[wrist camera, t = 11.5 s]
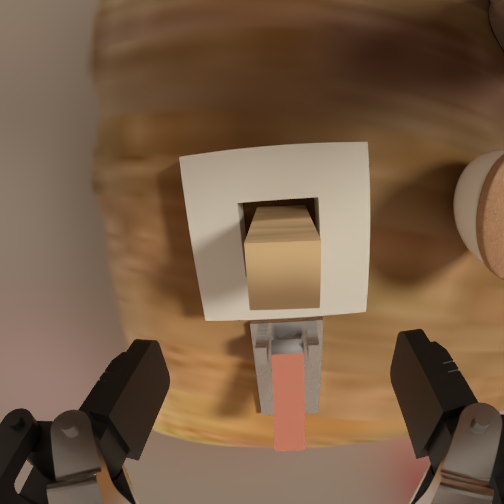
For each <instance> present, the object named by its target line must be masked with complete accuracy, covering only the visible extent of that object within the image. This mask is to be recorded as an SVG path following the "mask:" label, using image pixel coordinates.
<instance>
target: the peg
mask: <svg viewBox="0 0 504 504" xmlns="http://www.w3.org/2000/svg"><path fill="white" fill-rule="evenodd" d="M244 249H245V261H246V273H247V284H248V296H249V308H250V310H282V309H308V308H320V287H321V239H320V237H319V235H318V232H317V230H316V228H315V226H314V224H313V221H312V219H311V217H310V215H309V213H308V210H307V208H306V206H305V205H288V206H265V207H257V209H256V212H255V215H254V217H253V220H252V223H251V226H250V228H249V231H248V234H247V237H246V240H245V242H244Z"/></svg>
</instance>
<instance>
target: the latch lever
mask: <svg viewBox="0 0 504 504" xmlns="http://www.w3.org/2000/svg"><path fill="white" fill-rule="evenodd" d="M271 355H272V381H273V410H274V444H275V451H294V450H305V382H304V344H303V338H302V339H285V340H271Z"/></svg>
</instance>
